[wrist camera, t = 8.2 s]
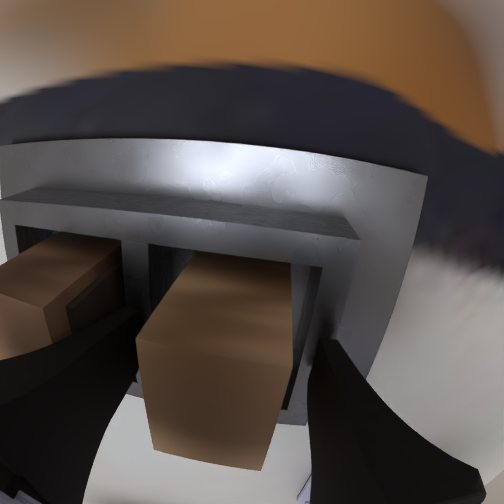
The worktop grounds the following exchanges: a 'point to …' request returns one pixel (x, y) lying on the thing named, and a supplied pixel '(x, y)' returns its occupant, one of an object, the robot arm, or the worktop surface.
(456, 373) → the worktop surface
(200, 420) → the oak block
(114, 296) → the brown wooden block
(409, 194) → the board
